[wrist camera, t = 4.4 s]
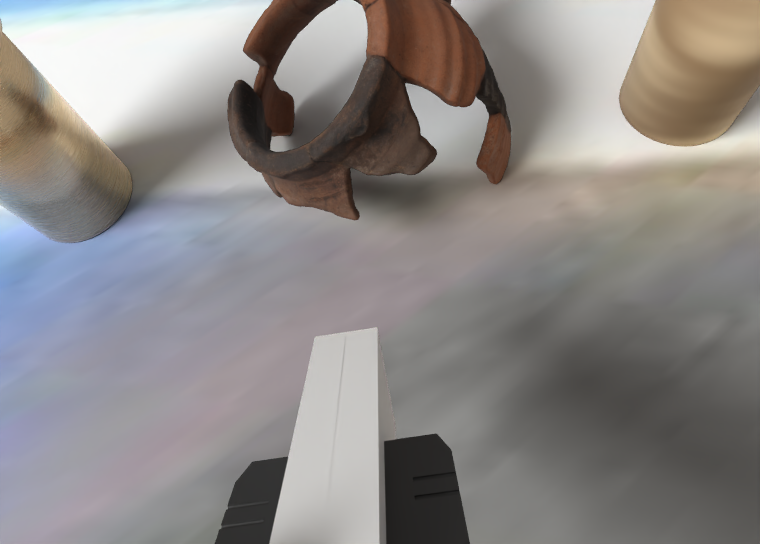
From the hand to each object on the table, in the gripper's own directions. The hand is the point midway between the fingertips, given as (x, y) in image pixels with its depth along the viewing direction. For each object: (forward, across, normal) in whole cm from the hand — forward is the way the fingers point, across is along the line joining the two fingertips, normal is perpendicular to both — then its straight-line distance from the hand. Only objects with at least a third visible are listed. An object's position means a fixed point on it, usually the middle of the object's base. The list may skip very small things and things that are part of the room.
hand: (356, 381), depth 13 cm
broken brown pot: (+13, +2, +4) cm, 13 cm away
